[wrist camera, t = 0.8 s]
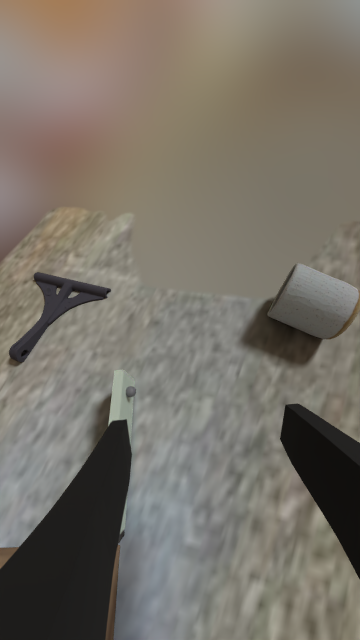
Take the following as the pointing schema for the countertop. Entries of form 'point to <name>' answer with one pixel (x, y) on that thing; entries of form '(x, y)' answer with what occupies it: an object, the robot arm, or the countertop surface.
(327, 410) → the countertop surface
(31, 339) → the bracket
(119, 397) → the door
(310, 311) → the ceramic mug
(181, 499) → the countertop surface
